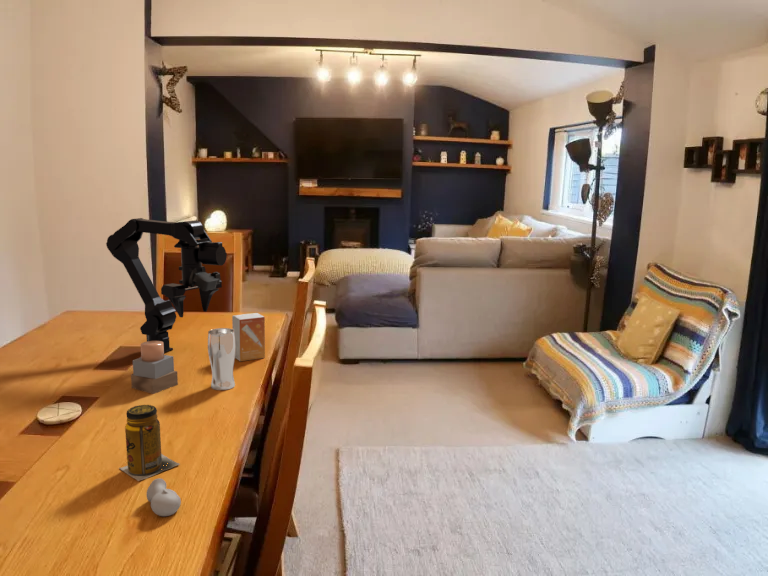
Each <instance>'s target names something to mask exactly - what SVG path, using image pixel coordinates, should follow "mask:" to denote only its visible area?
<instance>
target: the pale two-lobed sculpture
mask: <svg viewBox="0 0 768 576" xmlns="http://www.w3.org/2000/svg"><path fill="white" fill-rule="evenodd" d="M146 499H147V501H148V502H149V503H150V507H151V510H152V512H153V513H154V514H155V515H157V516H159V517H169V516H172V515H174V514H175V513H176V512H177V511H178V510H179V509H180V506H181V504H182V500H181V497H180V496H179V495H178V493H177V492H176V490H175V491H174V490H172V489H170V488H167V482H166V481H165V480H164V478H160V477H159V478H155V479H153V480H152V481H151V483H150V484H149V485H148V488H147V489H146Z"/></svg>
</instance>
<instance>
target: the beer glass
mask: <svg viewBox="0 0 768 576" xmlns="http://www.w3.org/2000/svg"><path fill="white" fill-rule="evenodd" d="M207 333H208V334H207V353H208V359H209V363H210V364H209V365H210V368H211V382H210V388H211V389H212V390H215V391H227V390H230V389H233V388H235V386H236V383H235V382H236V381H235V378H234V365H235V360H236V358H235V352H236V344H235V334H234V330H233V328H230V327H229V328H228V327H220V328H219V327H218V328H212V329H209V331H208V332H207Z"/></svg>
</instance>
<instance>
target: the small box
mask: <svg viewBox="0 0 768 576" xmlns="http://www.w3.org/2000/svg"><path fill="white" fill-rule="evenodd" d="M231 318H232V319H231V321H232V329H233V330H234V334H235V344H236V352H235V360H237V361H239V362H245V361H251V360H258V359H260V360H261V359H264V358H265V357H266V347H265V346H266V342H265V341H266V333H265V332H266V330H265V329H266V328H265V327H266V325H265V324H266V323H265V322H266V321H265V320H266V319H265V316H264V315H262V314H260V313H258V312H253V313H243V314H236V315H232V316H231Z"/></svg>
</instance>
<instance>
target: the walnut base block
mask: <svg viewBox="0 0 768 576" xmlns="http://www.w3.org/2000/svg"><path fill="white" fill-rule="evenodd" d="M178 379H179V378H178V371H177V370H174V371H173V372H170V373H168V374H166V375H164V376H161V377H159V378H157V379H152V378H146V377H140V376H135V375H133V373H131V374H130V381H131V389H133V388H134V390H138V391H141V392H145V393H149V394H151V395H154V394H157V393H160V392H163V391H165V390H168V389H170V387H171V388H174V387H176V386H178V385H179V382H178ZM162 390H163V391H162Z"/></svg>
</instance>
